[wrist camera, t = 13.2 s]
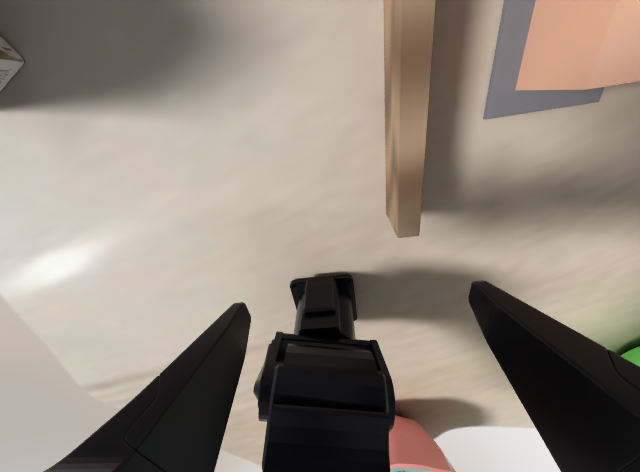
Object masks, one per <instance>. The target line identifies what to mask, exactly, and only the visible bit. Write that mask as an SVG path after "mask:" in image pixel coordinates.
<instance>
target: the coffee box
mask: <svg viewBox="0 0 640 472" xmlns="http://www.w3.org/2000/svg"><path fill="white" fill-rule="evenodd" d="M23 64H24V61H23V58H22V57H21V56H20V55H19V54H18V53H17V52H16V51H15V50H14V49H13V48H12V47H11V46H10V45H9V44H8V43H7V42H6V41H5V40H4V39H3V38H2V37H1V36H0V91H1V90H2V89H3V88H4V86H5V85H6V84H7V83H8V82H9V81H10V79H11V78H12V77H13V76H14V75H15V74H16V73H17V71H18V70H19V69H20V68H21V67H22V66H23Z"/></svg>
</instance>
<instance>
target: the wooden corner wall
mask: <svg viewBox="0 0 640 472" xmlns="http://www.w3.org/2000/svg"><path fill="white" fill-rule="evenodd" d="M435 1H436V0H384V55H385V138H386V214H387V216H388V218H389V220H390V222H391V225H392V227H393V229H394V231H395V233H396V235H397V237H398V238H402V237H411V236H419V232H420V217H421V203H422V189H423V174H424V160H425V145H426V131H427V117H428V102H429V88H430V73H431V59H432V45H433V30H434V16H435Z"/></svg>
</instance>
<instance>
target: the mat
mask: <svg viewBox="0 0 640 472" xmlns="http://www.w3.org/2000/svg"><path fill="white" fill-rule="evenodd" d="M535 1H536V0H504V5H503V11H502V17H501V22H500V28H499V33H498V39H497V45H496V50H495V56H494V62H493V67H492V73H491V78H490V84H489V90H488V95H487V101H486V107H485V112H484V118H483V119H491V118H498V117H504V116H510V115H517V114H523V113H530V112H536V111H542V110H549V109H555V108H562V107H568V106H574V105H581V104H587V103H594V102H598V101H599V98H600V96H601V93H602V91H603V88H604V87H600V88H593V89H587V90H515V89H516V85H517V80H518V76H519V71H520V67H521V63H522V58H523V54H524V49H525V45H526V41H527V36H528V32H529V28H530V23H531V19H532V14H533V10H534V6H535Z"/></svg>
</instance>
